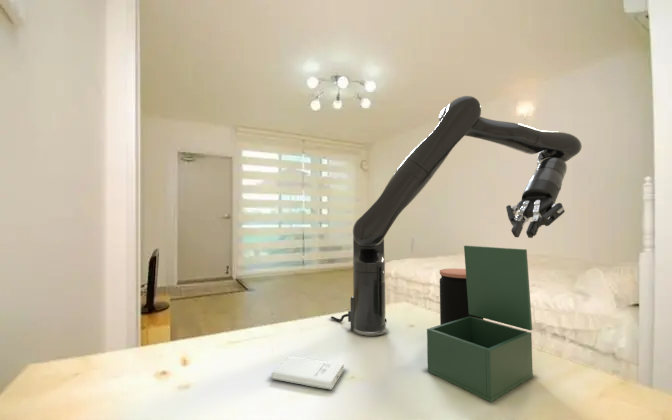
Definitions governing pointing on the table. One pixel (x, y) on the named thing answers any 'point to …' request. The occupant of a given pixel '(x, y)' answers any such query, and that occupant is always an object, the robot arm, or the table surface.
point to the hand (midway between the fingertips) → (522, 235)
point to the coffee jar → (453, 295)
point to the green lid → (498, 285)
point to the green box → (480, 356)
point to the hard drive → (308, 372)
